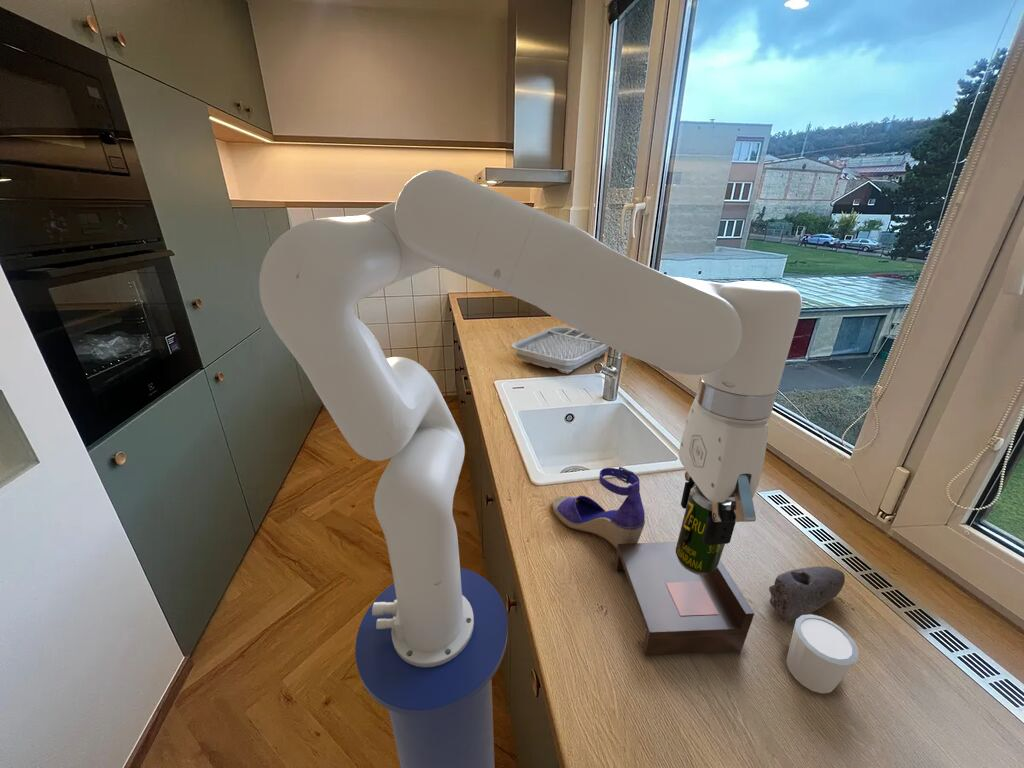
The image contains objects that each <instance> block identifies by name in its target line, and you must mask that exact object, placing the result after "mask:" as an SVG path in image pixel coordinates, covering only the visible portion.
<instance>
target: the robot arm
mask: <svg viewBox="0 0 1024 768" xmlns="http://www.w3.org/2000/svg"><path fill="white" fill-rule="evenodd" d="M436 266H438V267H440V268H443V269H445V270H447V271H450V272H452V273H454V274H457V275H460V276H462V277H465V278H468V279H470V280H472V281H474V282H477V283H479V284H482V285H485V286H487V287H489V288H492V289H494V290H497V291H499V292H501V293H504V294H507V295H509V296H511V297H514V298H515V299H518V300H521V301H523V302H526V303H528V304H530V305H533V306H535V307H537V308H538V309H540V310H542V311H543V312H544V313H546V314H547V315H550V316H551V317H552V318H554V319H556V320H557V321H560V322H562V323H564V324H566V325H568V326H569V327H571V328H575V329H577V330H579V331H581V332H583V333H584V334H586V335H588V336H590V337H592V338H593V339H595V340H597V341H599V342H601V343H603V344H605V345H607V346H609V347H610V349H613V350H616V351H618V352H620V353H622V354H624V355H627V356H629V357H632V358H634V359H637V360H640V361H642V362H645V363H646V364H649V365H652V366H655V367H657V368H659V369H661V370H665V371H667V372H671V373H673V374H677V375H681V376H683V375H684V376H700V378H699V382H698V387H697V392H696V395H695V397H694V400H693V402H692V404H691V407H690V409H689V411H688V415H687V418H686V421H685V425H684V427H683V428H684V429H683V432H682V436H681V441H680V445H679V450H678V459H679V461H680V464H681V465H682V466H683V468H684V469H685V472H684V479H685V483H684V486H683V490H682V495H681V496H682V497H681V500H680V506H681V508H682V509H685V510H686V506H687V502H688V498H689V494H690V490H691V488H692V487H693V486H694V483H696V485H697V486H698V488H699V489H700V490H701V492H702V493H703V494H704V495H705V497H706V498H707V499H709V500H710V501H711V502H712V515H709V516H708V517H707V521H706V525H705V529H704V533H703V537H702V540H703V542H704V544H725V545H728V544H730V542H731V540H732V538H733V537H732V536H733V532H734V530H735V525H736V523H741V522H742V523H747V522H756V520H757V515H756V510H755V506H754V500H753V499H754V497H755V495H756V492H757V489H758V486H759V483H760V480H761V476H762V471H763V468H764V461H765V457H766V451H767V444H768V437H769V422H768V421H769V420H770V419H771V416H772V412H773V409H774V405H775V402H776V398H777V394H778V391H779V388H780V384H781V381H782V378H783V374H784V370H785V367H786V363H787V360H788V356H789V354H790V353H789V352H790V350H791V346H792V342H793V338H794V336H795V332H796V328H797V326H798V322H799V319H800V314H801V312H802V307H803V298H802V295H801V293H800V292H799V291H798V290H797V289H796V288H794V287H791V286H789V285H786V284H781V283H776V282H769V281H760V280H759V281H757V280H755V281H754V280H752V281H751V280H750V281H749V280H743V281H734V282H729V283H728V282H727V283H726V282H718V281H716V282H715V281H707V280H701V279H694V278H688V277H680V276H670V275H667V274H665V273H663V272H661V271H658V270H656V269H655V268H652V267H649V266H647V265H645V264H643V263H641V262H639V261H636V260H634V259H632V258H630V257H629V256H626V255H624V254H622V253H620V252H619V251H617V250H615V249H613V248H612V247H609V246H608V245H606V244H604V243H603V242H601V241H600V240H599V239H597V238H595V237H594V236H593V235H591V234H590V233H588V232H587V231H585V230H584V229H582V228H580V227H577V226H576V225H574V224H573V223H570V222H568V221H565V220H563V219H561V218H558V217H556V216H554V215H551V214H549V213H547V212H545V211H542V210H539V209H537V208H536V207H535V208H534V207H532V206H530V205H528V204H525V203H523V202H520V201H519V200H516V199H514V198H512V197H509V196H507V195H505V194H502V193H501V192H498V191H496V190H493V189H490V188H489V187H487V186H484V185H481V184H479V183H477V182H474V181H472V180H471V179H469V178H467V177H465V176H463V175H459V174H457V173H453V172H451V171H447V170H442V169H428V170H424V171H422V172H419V173H417V174H416V175H414V176H413V177H411V178H410V179H409V180H408V181H407V182H406V183H405V184H404V185H403V188H402V189H401V191H400V192H399V194H398V197H397V199H396V200H394V201H392V202H390V203H388V204H385V205H382V206H381V207H378V208H376V209H374V210H371V211H369V212H366V213H364V214H361V215H353V216H352V215H351V216H333V217H332V216H331V217H322V218H315V219H310V220H308V221H304V222H301V223H298V224H297V225H295V226H293V227H291V228H290V229H288V230H287V231H285V232H283V233H282V234H281V235H280V236H278V238H277V239H276V240H275V241H274V242H273V243H272V244H271V246H270V247H269V249H268V251H267V252H266V254H265V256H264V258H263V261H262V264H261V267H260V272H259V277H258V291H259V299H260V302H261V306H262V310H263V312H264V314H265V316H266V318H267V321H268V322H269V324H270V326H271V328H272V329H273V331H274V332H275V334H276V335H277V336H278V338H279V340H281V342H282V343H283V344H284V345H285V347H286V349H288V351H289V352H290V354H292V356H293V358H294V359H295V360H296V361H297V363H298V365H299V366H300V367H301V369H302V370H303V372H304V373H305V375H306V377H307V378H308V380H309V382H310V384H311V385H312V387H313V389H314V390H315V392H316V394H317V396H318V397H319V399H320V400H321V402H322V404H323V405H324V407H325V408H326V411H327V412H328V413H329V415H330V417H331V418H332V420H333V422H334V423H335V425H336V426H337V428H338V429H339V431H340V433H341V434H342V436H343V437H344V440H346V442H347V444H348V445H349V446H350V447H351V449H352V451H354V452H355V453H356V454H357V455H358V456H360V457H362V458H363V459H367V460H369V461H374V462H381V461H385V460H386V461H387V460H389V459H390V461H389V462H388V463H387V465H386V467H385V469H384V471H383V473H382V474H381V477H380V478H379V481H378V483H377V485H376V488H375V492H374V497H373V508H374V514H375V517H376V519H377V521H378V523H379V526H380V528H381V530H382V533H383V535H384V539H385V542H386V547H387V552H388V558H389V564H390V567H391V574H392V578H393V583H394V586H395V592H396V598H397V600H394V602H374V601H373V602H374V604H373V608H372V615H373V616H385V615H393V619H386V618H384V619H377V623H376V629H386V628H392V632H391V633H392V641H393V645H394V648H395V650H396V652H397V654H398V655H399V656H400V657H401V658H402V659H403V660H404V661H406V662H407V663H409V664H412V665H414V666H418V667H434V666H438V665H441V664H444V663H446V662H448V661H450V660H451V659H453V658H454V657H456V656H457V655H458V654H459V653H460V652H461V651H462V650H463V649H464V648H465V646H466V645H467V644H468V642H469V640H470V638H471V635H472V632H473V626H474V615H473V611H472V607H471V605H470V603H469V602H468V600H467V599H466V598H465V597H464V596H463V595H462V588H461V575H460V568H461V563H460V549H459V538H458V537H459V535H458V529H457V524H456V521H455V519H454V515H453V514H454V513H453V507H454V499H455V493H456V490H457V486H458V482H459V477H460V474H461V471H462V467H463V465H464V461H465V460H464V459H465V456H466V455H465V454H466V447H465V442H464V439H463V436H462V434H461V431H460V428H459V427H458V425H457V423H456V421H455V418H454V417H453V415H452V412H451V411H450V409H449V406H448V404H447V402H446V401H445V399H444V396H443V394H442V392H441V390H440V388H439V386H438V384H437V382H436V381H435V379H434V377H433V376H432V375H431V373H430V372H429V371H428V370H427V369H426V368H425V367H424V366H423V365H422V364H420V363H418V362H417V361H415V360H413V359H410V358H407V357H403V356H391V357H387V356H386V355H385V354H384V351H383V349H382V347H381V345H380V342H379V341H378V340H377V338H376V336H375V335H374V334H373V331H371V329H369V328H368V326H367V325H366V324H365V323H364V322H363V321H362V320H361V319H359V318H358V316H356V313H355V311H354V308H355V306H356V305H357V304H358V303H360V301H362V300H364V299H365V298H367V297H370V296H373V295H375V294H376V293H378V292H379V291H382V290H383V289H385V288H387V287H390V286H391V285H393V284H395V283H398V282H400V281H402V280H405V279H408V278H410V277H413V276H415V275H418V274H420V273H422V272H424V271H428V270H430V269H433V268H434V267H436ZM723 502H731V510H725V511H722V503H723ZM447 654H448V655H447Z"/></svg>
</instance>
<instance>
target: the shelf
mask: <svg viewBox="0 0 1024 768" xmlns="http://www.w3.org/2000/svg"><path fill="white" fill-rule="evenodd" d="M677 542H678V541H667V542H665V541H662V542H661V541H660V542H638V543H631V544H618V546H617V550H616V555H615V561H614V567H615V569H616V571H624V573H625V575H626V578H627V581H628V584H629V587H630V589H631V592H632V595H633V598H634V600H635V604H636V607H637V610H638V612H639V615H640V618H641V621H642V623H643V626H644V629H645V633H644V638H643V642H642V651H643V654H644V656H645V657H649V656H650V657H651V656H669V655H670V656H672V655H694V654H696V655H697V654H698V655H699V654H717V653H718V654H719V653H740V652H742V650H743V648H744V645H745V642H746V640H747V636H748V633H749V630H750V628H751V625H752V622H753V619H754V616H755V612H754V611H753V609H752V608H751V606H750V604H749V603H748V601H747V600H746V598H745V596H744V595H743V593H742V592H741V590H740V589H739V587H738V584H736V582H735V580H734V578H732V576H731V574H730V573H729V571H728V570H727V568H726V566H725V565H724V563H723V562H722V560H721V559H720V561H719V564H718V566H717V568H716V569H715V570H714V571H712V572H711V573H709V574H706V575H700V574H695V573H692V572H690V571H689V570H687V569H685V568H684V567H683V566H682V565H681V564H680V562H679V561H678V558H677V555H676V545H677Z"/></svg>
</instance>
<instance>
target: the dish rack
mask: <svg viewBox="0 0 1024 768" xmlns="http://www.w3.org/2000/svg"><path fill="white" fill-rule="evenodd" d="M510 347H511V348H512V349H513V350H515V353H514V354H515V357H516V358H518V359H520V360H523V362H524V363H527V364H532V365H536V366H539V367H543V368H547V369H549V368H553V369H556V370H558V372H559V373H561V374H562V373H563V374H569V373H572V372H574V370H576V369H577V368H580V367H582V366H584V365H586V364H587V363H589V362H591V361H592V360H594V359H596V358H597V359H598V358H599V357H601V356H603V355H604V354H605V353H608V352H609V351H608V347H609V346H607V345H605V344H603V343H601V342H599V341H597V340H595V339H593V338H592V337H590V336H588V335H586V334H584V333H583V332H581V331H579V330H577V329H575V328H574V327H571V326H552V327H549V328H547V329H544V330H543V331H540V332H538V333H535V334H533V335H530V336H528V337H526V338H523V339H520V340H517V341H515V342H513V343H511V345H510Z"/></svg>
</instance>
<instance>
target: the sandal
mask: <svg viewBox="0 0 1024 768" xmlns="http://www.w3.org/2000/svg"><path fill="white" fill-rule="evenodd" d="M607 476H608V477H615V478H616V479H617V480H619V481H621V482H624V483H625V484H629V485H628V486H620V485H617V484H614V483H613V482H611V481H608V480H607V479H606V478H605V477H607ZM599 484H600V485H601V486H602V487H603V488H604V489H606V490H608V491H610V492H611V493H613V494H615V495H618V496H624V497H625V496H626V498H624V500H623V502H622V504H620V506H619V508H618V509H611V510H605V509H604V508H603V507H602V506H601V505H600V504H599V503H598V502H597V501H595V500H593V498H591V497H589V496H587V495H578V496H576V497H575V496H574V497H573V496H566V495H563V496H558V497H555V498H554V499H553V501H552V511H553V513H554V515H555V516H556V517H557V518H558V520H559V521H560V522H561V523H562V524H564V525H565V526H566V527H568V528H570V529H572V530H576V531H579V532H585V533H589V534H593V535H595V536H598V537H600V538H602V539H604V540H605V541H606V542H608V543H609V544H611V546H613V547H612V548H613V549H614V550H616V551H617V546H618V544H631V543H639V541H640V538H641V535H642V532H643V530H644V527H645V525H646V520H645V518H646V517H645V514H646V513H645V508H644V504H643V501H642V497H641V492H640V489H641V487H640V478H639V476H638V475H637V474H635V472H634V471H632V470H629V469H627V468H625V467H623V466H619V467H618V468H615V467H605V468H602V469H601V470H600V471H599Z"/></svg>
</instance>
